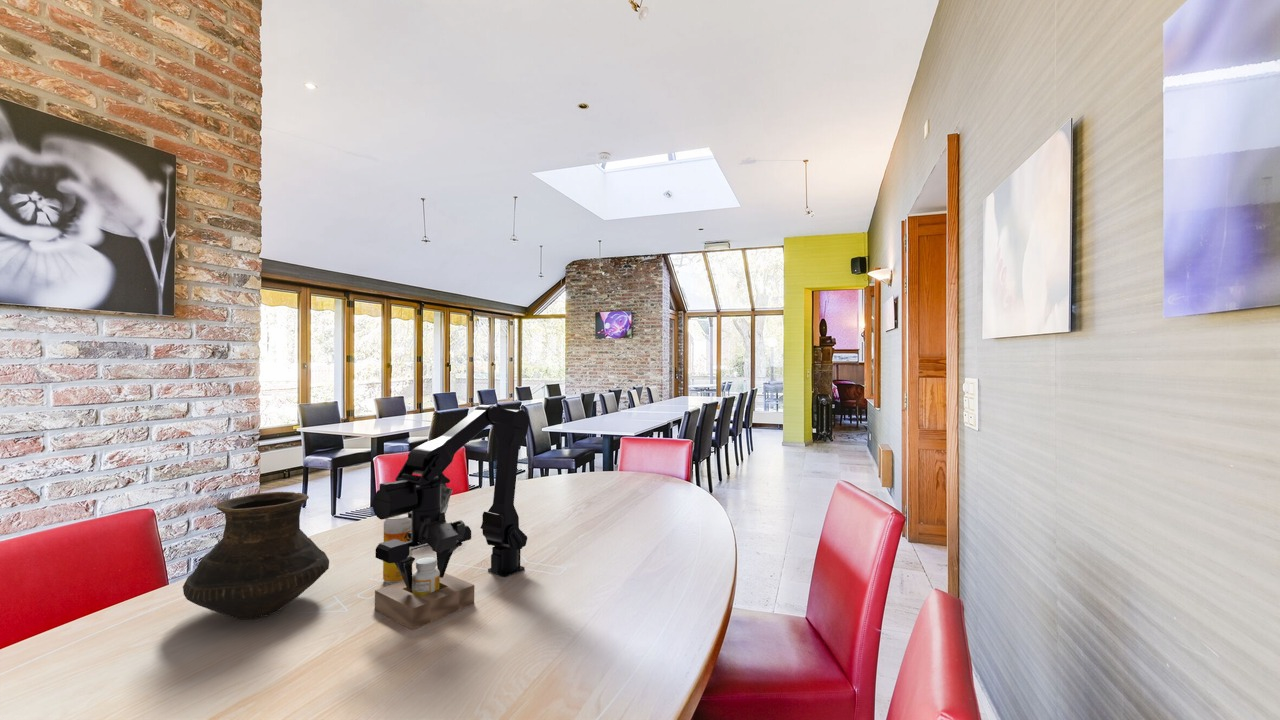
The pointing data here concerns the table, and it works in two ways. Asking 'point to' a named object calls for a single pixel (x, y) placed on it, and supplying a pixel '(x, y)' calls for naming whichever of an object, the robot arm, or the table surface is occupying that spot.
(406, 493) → the robot arm
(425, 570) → the supplement bottle
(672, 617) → the table surface
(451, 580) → the socket block
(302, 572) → the ceramic pot
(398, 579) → the beer can
